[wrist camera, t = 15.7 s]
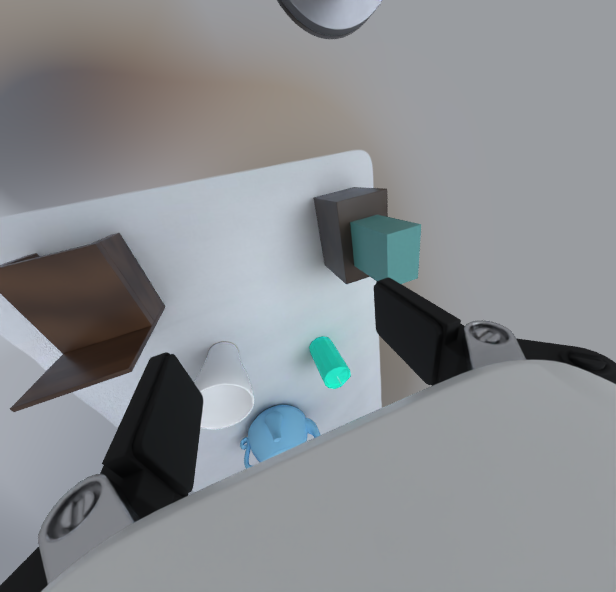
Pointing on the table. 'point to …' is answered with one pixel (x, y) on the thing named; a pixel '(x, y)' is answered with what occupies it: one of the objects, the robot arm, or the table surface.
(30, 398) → the shelf
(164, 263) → the table surface
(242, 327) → the table surface
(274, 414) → the teapot
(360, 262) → the block
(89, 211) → the table surface
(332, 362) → the candle
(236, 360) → the cup
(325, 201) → the dark brown box
